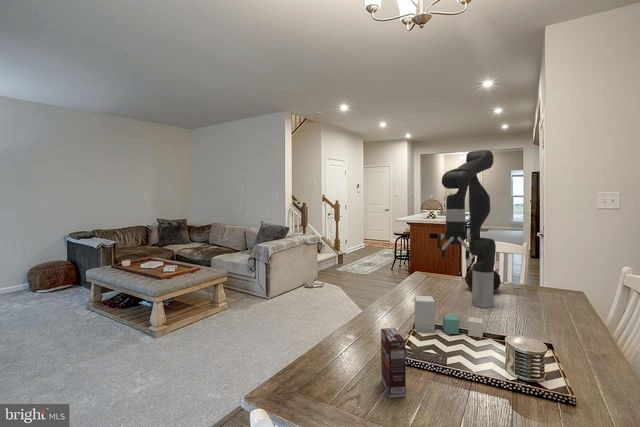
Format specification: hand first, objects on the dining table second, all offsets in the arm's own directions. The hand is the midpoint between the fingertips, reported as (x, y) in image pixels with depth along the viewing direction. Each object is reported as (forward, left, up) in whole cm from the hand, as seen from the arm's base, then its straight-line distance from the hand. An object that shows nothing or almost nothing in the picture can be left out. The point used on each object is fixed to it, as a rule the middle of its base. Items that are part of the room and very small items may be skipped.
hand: (455, 259), depth 135 cm
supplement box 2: (+8, -12, -28) cm, 32 cm away
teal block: (+8, -2, -28) cm, 29 cm away
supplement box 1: (+54, -19, -28) cm, 64 cm away
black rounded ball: (-56, +17, -28) cm, 65 cm away
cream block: (+8, +7, -28) cm, 30 cm away
